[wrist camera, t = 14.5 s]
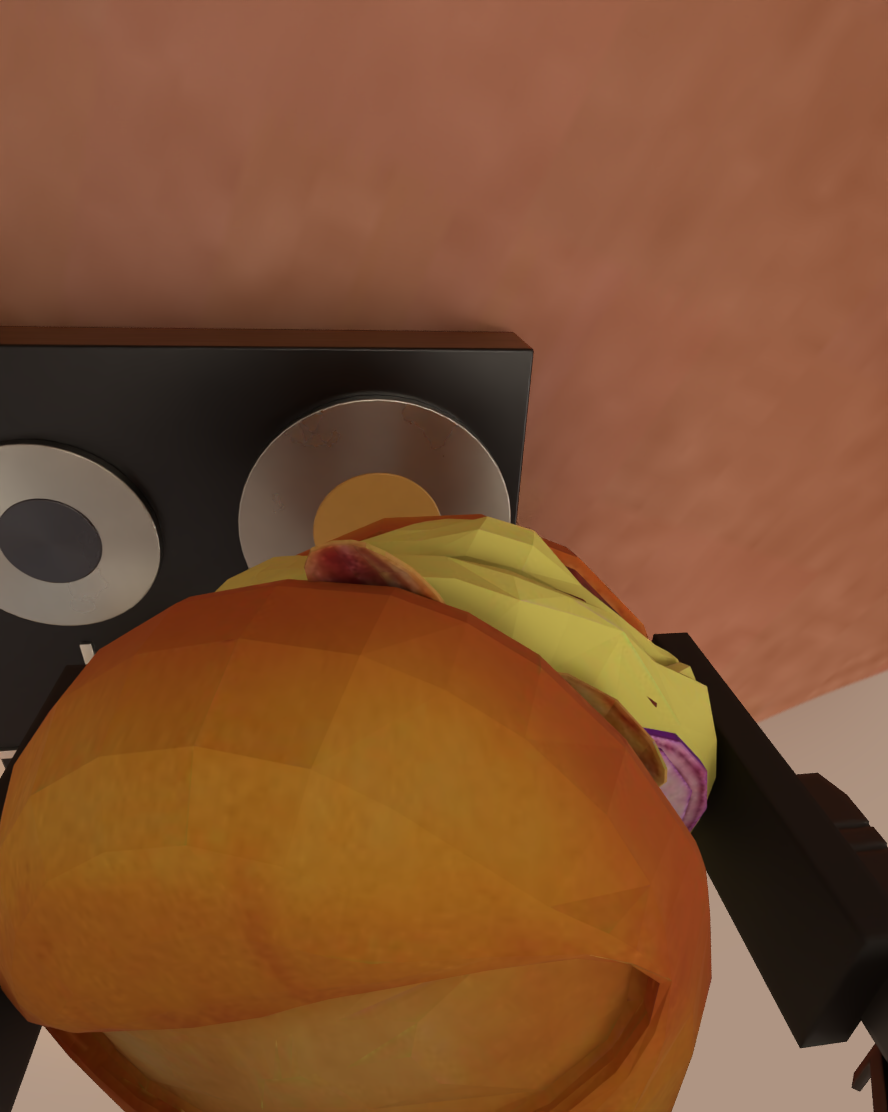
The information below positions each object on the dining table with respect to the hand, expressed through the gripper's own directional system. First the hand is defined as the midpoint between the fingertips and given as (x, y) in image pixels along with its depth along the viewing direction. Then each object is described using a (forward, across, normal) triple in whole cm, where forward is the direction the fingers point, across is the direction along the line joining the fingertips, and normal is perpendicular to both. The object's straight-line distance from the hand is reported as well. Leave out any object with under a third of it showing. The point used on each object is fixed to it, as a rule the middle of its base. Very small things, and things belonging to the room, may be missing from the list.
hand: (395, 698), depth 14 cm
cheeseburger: (+1, 0, 0) cm, 1 cm away
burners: (+8, -4, 0) cm, 9 cm away
